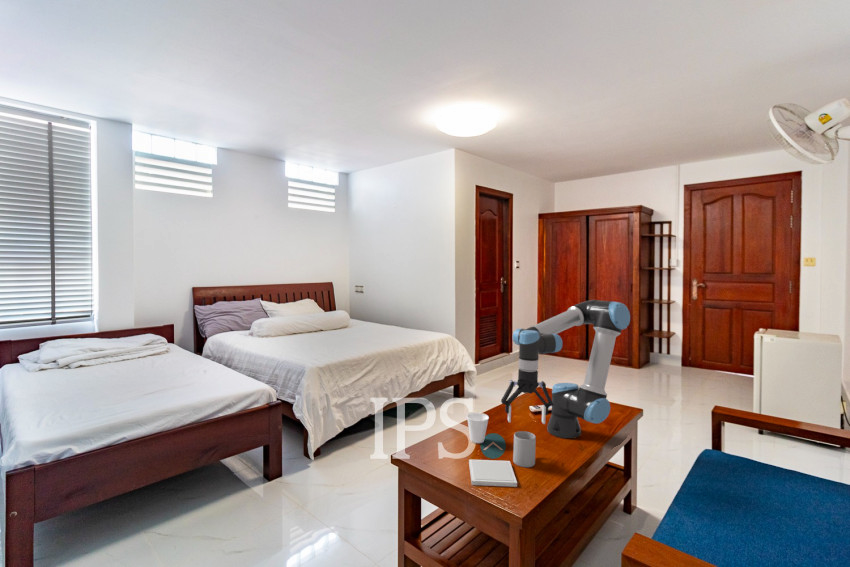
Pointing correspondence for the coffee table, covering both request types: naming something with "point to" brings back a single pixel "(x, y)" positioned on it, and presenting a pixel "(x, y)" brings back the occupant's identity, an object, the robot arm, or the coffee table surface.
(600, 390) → the robot arm
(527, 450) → the mug
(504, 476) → the plate
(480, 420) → the cup
